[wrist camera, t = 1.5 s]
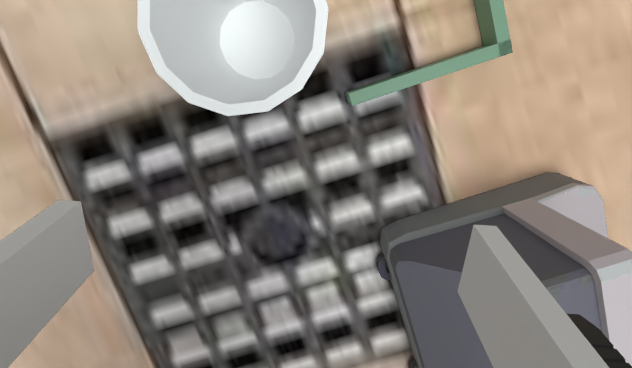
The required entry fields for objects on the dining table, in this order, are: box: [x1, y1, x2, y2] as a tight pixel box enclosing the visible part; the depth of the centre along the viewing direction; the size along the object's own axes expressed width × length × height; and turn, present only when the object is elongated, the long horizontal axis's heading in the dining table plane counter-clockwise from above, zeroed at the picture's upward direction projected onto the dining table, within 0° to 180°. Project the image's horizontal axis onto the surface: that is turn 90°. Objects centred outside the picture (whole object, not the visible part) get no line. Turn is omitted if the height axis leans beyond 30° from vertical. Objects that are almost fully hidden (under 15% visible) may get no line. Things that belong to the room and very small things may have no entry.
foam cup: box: [138, 0, 328, 116], centre depth 26 cm, size 10×9×13 cm
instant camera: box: [376, 173, 632, 368], centre depth 32 cm, size 21×21×15 cm
